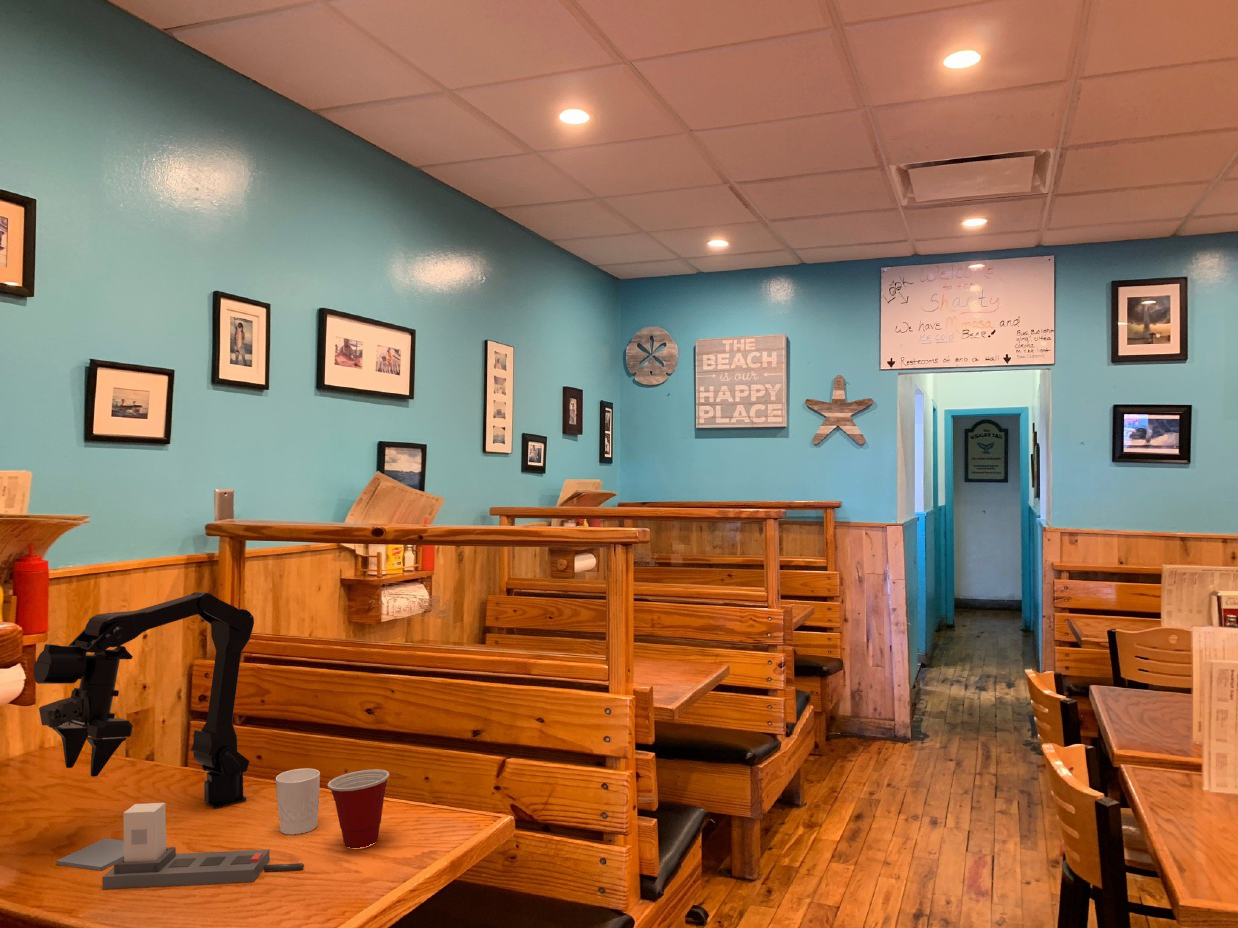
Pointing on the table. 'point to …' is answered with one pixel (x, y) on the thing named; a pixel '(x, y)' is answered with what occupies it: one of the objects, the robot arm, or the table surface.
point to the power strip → (193, 869)
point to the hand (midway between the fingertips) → (81, 771)
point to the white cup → (298, 800)
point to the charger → (144, 832)
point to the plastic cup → (359, 805)
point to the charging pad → (96, 855)
